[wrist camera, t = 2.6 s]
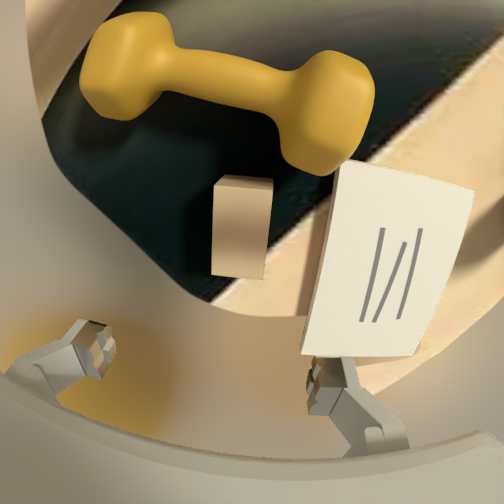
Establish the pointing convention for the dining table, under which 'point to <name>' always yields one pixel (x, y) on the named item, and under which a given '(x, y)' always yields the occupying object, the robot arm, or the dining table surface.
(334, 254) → the board
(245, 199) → the block
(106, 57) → the dumbbell
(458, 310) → the dining table surface
